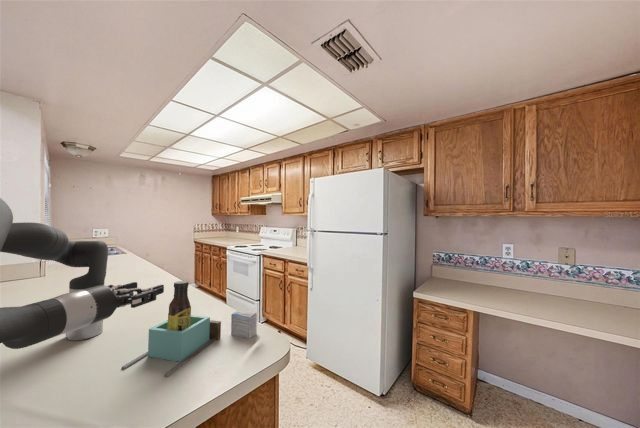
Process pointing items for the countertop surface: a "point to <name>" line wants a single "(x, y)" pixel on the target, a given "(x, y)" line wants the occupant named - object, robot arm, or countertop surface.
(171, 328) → the sauce bottle
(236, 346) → the countertop surface
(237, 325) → the medicine box
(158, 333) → the holder
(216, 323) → the track board
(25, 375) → the countertop surface
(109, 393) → the countertop surface
